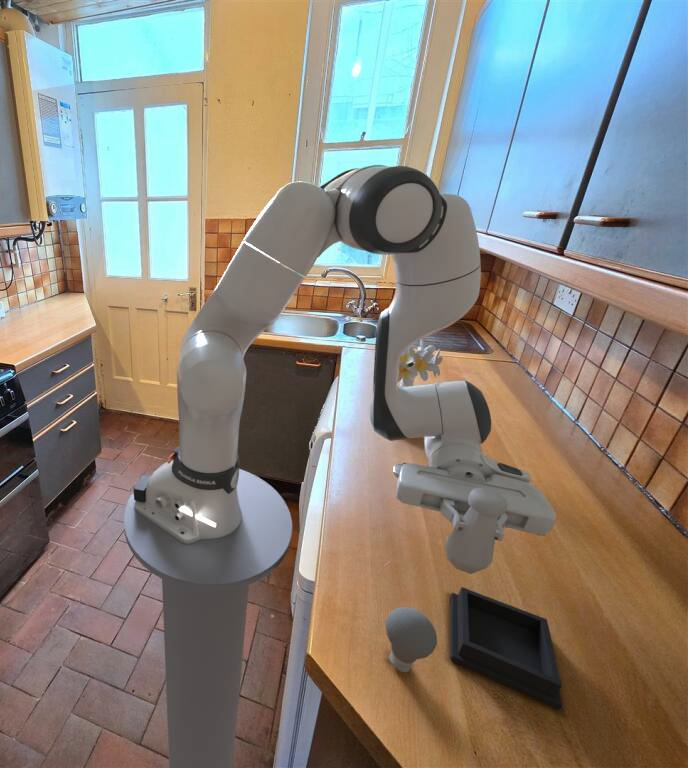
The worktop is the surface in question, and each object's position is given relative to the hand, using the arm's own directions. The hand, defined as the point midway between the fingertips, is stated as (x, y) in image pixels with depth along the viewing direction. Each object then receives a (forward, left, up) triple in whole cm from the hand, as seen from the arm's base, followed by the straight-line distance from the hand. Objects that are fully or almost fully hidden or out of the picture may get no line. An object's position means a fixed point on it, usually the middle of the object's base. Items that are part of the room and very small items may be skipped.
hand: (478, 531), depth 57 cm
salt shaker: (0, +1, -7) cm, 7 cm away
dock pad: (+6, -2, -17) cm, 18 cm away
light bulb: (-6, -13, -17) cm, 22 cm away
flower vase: (-13, +59, -17) cm, 62 cm away
